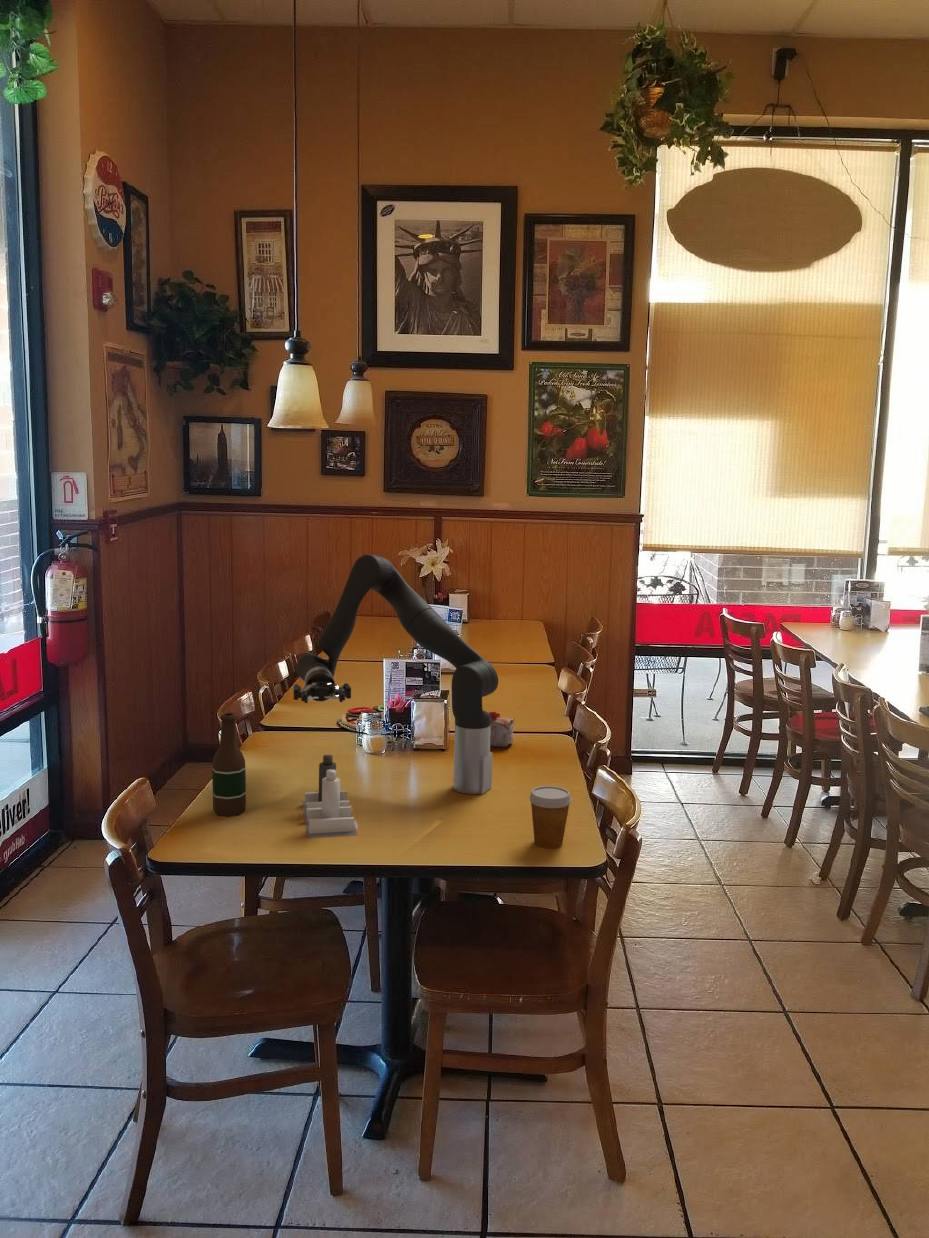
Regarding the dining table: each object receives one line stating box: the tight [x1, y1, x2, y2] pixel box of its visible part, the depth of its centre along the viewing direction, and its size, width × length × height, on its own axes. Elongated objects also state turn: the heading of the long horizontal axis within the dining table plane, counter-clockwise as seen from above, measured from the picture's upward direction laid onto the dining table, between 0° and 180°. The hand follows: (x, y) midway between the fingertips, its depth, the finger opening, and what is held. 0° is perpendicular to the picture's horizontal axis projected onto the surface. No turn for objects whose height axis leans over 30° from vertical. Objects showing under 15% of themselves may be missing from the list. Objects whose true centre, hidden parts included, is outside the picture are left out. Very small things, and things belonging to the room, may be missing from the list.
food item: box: [488, 711, 516, 748], centre depth 304 cm, size 14×8×10 cm, turn 71°
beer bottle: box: [211, 712, 247, 818], centre depth 242 cm, size 8×8×24 cm
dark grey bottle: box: [318, 754, 337, 802], centre depth 242 cm, size 4×4×13 cm
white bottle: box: [322, 769, 341, 819], centre depth 232 cm, size 4×4×13 cm
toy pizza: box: [337, 704, 384, 733], centre depth 325 cm, size 28×28×4 cm
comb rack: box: [301, 790, 359, 839], centre depth 238 cm, size 24×12×4 cm, turn 12°
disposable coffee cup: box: [528, 785, 573, 849], centre depth 229 cm, size 10×10×12 cm
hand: (323, 698), depth 249 cm, fingers open, 8 cm apart
